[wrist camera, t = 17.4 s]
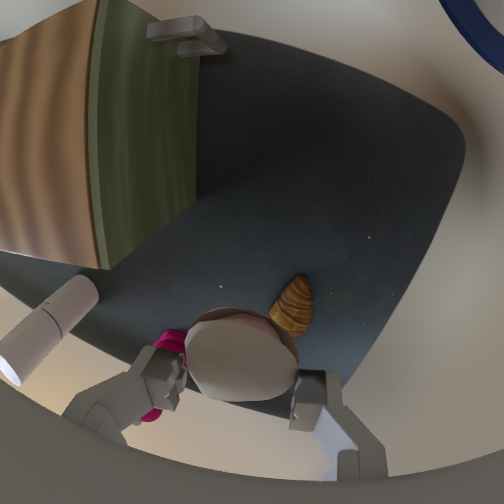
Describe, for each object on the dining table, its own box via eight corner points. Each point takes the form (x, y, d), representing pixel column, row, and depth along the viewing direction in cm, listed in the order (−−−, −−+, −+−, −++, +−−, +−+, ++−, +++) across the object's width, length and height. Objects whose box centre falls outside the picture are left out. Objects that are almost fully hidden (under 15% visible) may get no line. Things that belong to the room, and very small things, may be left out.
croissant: (299, 344, 48) (298, 364, 43) (260, 335, 48) (256, 355, 44) (325, 278, 42) (328, 295, 38) (281, 266, 43) (279, 283, 38)
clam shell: (319, 332, 11) (322, 380, 8) (251, 395, 13) (243, 437, 10) (222, 274, 10) (201, 315, 8) (171, 352, 12) (150, 392, 10)
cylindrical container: (98, 310, 53) (25, 393, 30) (72, 296, 53) (-3, 368, 30) (99, 284, 50) (14, 367, 27) (72, 268, 50) (-14, 341, 27)
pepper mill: (166, 320, 50) (115, 402, 32) (201, 340, 51) (162, 428, 33) (155, 343, 53) (109, 419, 35) (186, 361, 54) (149, 442, 36)
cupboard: (193, 50, 32) (97, -6, 12) (189, 201, 41) (98, 269, 21) (100, 66, 34) (-11, 54, 14) (101, 197, 43) (-2, 249, 23)
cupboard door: (239, 47, 31) (177, -28, 11) (233, 204, 40) (170, 279, 20) (194, 49, 32) (101, -6, 12) (190, 201, 41) (101, 269, 21)
